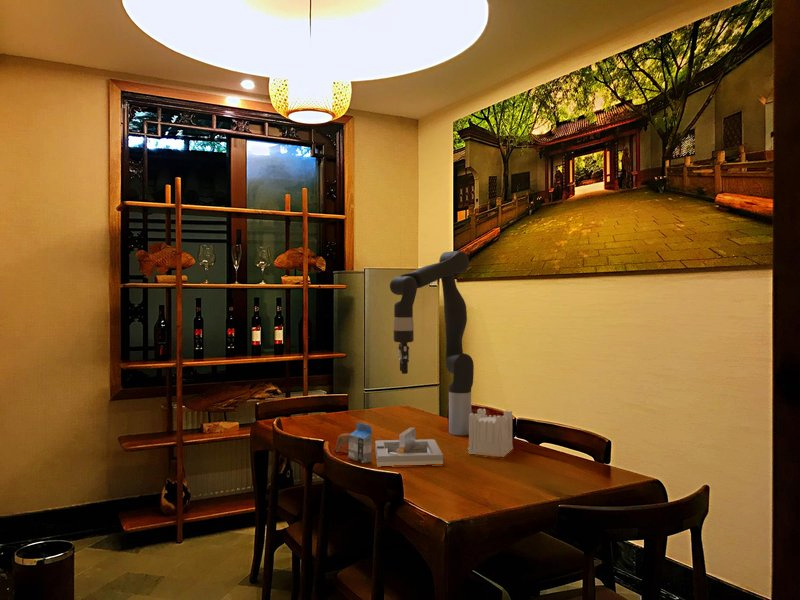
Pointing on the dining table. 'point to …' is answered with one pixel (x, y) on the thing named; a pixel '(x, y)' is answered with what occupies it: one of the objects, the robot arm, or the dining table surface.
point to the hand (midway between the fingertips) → (403, 372)
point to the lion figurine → (343, 441)
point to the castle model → (490, 434)
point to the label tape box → (360, 444)
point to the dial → (407, 443)
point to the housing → (407, 454)
